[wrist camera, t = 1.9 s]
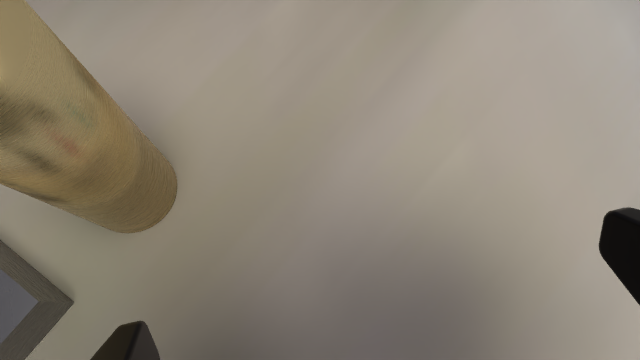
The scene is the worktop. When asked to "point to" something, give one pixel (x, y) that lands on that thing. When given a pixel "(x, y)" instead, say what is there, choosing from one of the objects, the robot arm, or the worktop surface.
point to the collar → (25, 306)
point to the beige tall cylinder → (72, 133)
